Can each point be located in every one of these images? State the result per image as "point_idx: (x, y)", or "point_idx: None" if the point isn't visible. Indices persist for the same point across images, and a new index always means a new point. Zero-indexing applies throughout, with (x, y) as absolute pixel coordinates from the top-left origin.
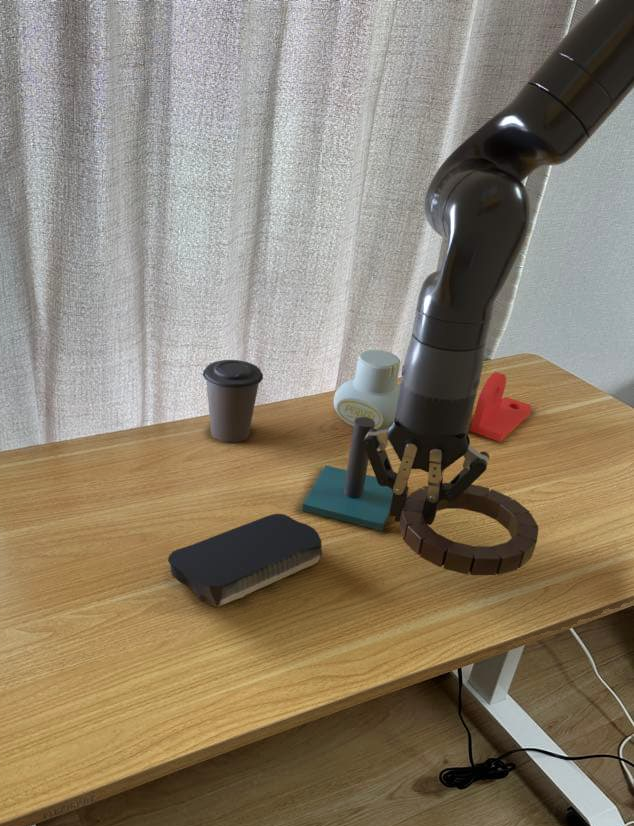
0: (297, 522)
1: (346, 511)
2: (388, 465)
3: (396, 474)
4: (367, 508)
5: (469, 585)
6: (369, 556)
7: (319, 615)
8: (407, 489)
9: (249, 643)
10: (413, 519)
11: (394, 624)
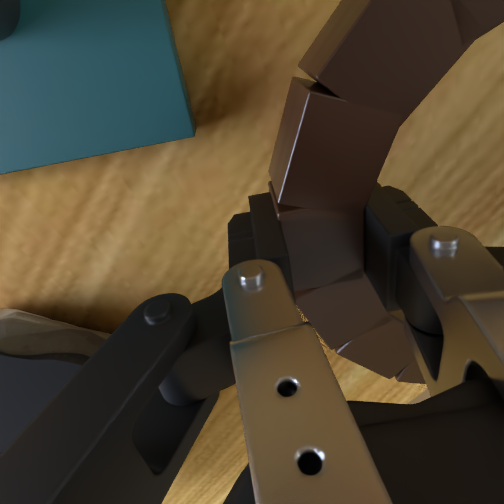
0: (29, 362)
1: (55, 141)
2: (160, 373)
3: (226, 343)
4: (96, 74)
5: (470, 211)
6: (222, 249)
7: (225, 413)
8: (290, 275)
9: (176, 479)
10: (345, 321)
11: (341, 373)
